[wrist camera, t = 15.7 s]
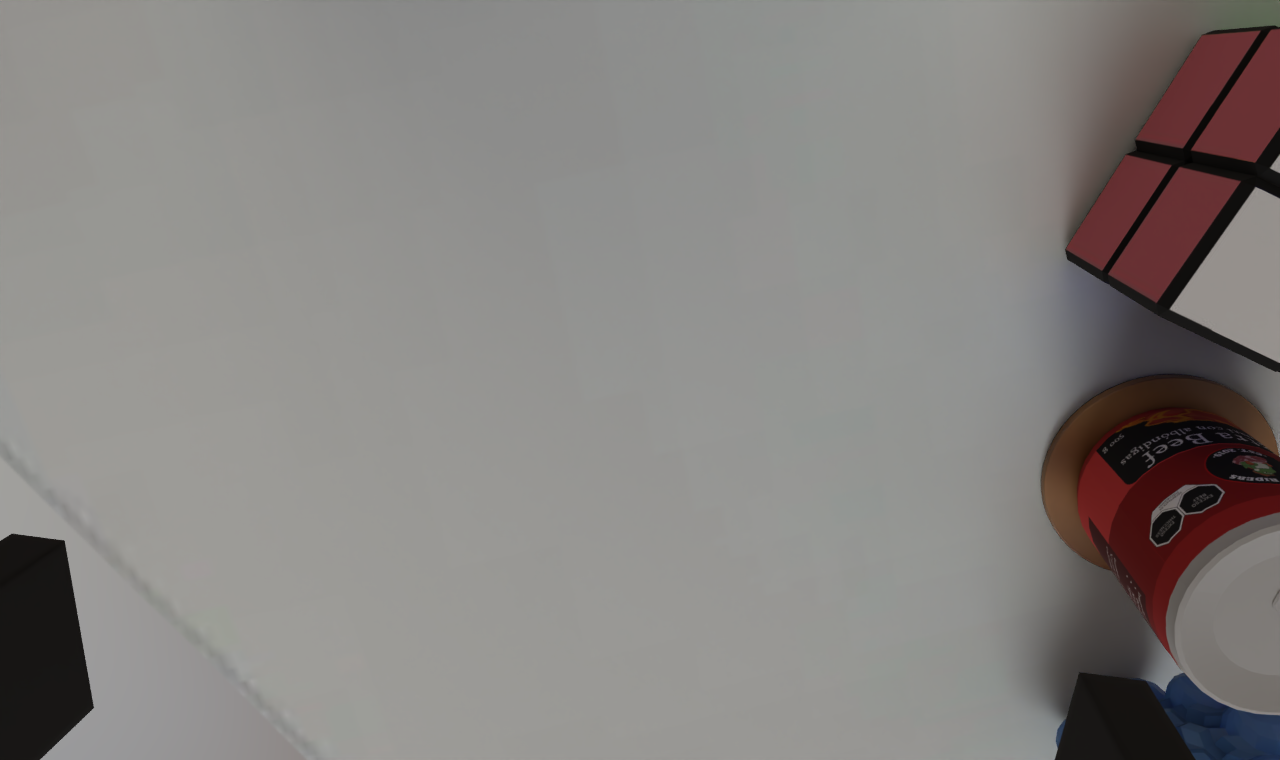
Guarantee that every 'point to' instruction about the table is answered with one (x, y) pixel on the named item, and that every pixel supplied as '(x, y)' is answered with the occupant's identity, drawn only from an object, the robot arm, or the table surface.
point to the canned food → (1194, 544)
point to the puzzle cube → (1202, 200)
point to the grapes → (1215, 724)
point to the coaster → (1110, 412)
